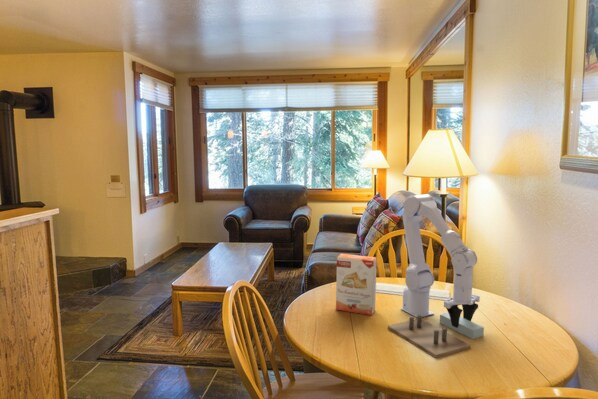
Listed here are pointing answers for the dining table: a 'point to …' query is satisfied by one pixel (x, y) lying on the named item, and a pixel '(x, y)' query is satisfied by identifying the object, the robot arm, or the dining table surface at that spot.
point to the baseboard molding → (399, 289)
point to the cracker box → (356, 283)
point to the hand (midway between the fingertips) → (460, 324)
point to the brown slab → (429, 337)
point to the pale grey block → (463, 326)
